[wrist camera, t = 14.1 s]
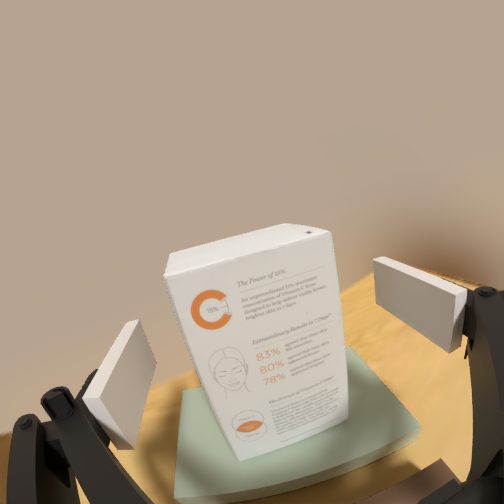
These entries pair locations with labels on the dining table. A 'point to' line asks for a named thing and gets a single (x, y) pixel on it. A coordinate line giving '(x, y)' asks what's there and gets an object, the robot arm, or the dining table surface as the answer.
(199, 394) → the board
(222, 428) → the small box
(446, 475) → the walnut holder
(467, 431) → the dining table surface
